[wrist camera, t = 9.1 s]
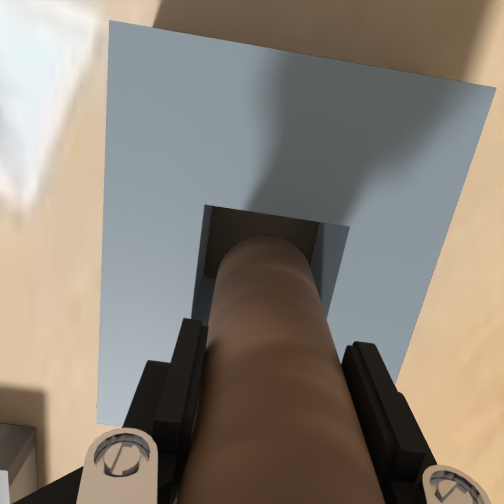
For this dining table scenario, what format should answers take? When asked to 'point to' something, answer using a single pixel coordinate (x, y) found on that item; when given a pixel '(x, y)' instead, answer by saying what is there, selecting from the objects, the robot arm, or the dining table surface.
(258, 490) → the long walnut pin
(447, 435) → the dining table surface
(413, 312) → the hole block
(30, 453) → the tray
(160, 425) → the robot arm
